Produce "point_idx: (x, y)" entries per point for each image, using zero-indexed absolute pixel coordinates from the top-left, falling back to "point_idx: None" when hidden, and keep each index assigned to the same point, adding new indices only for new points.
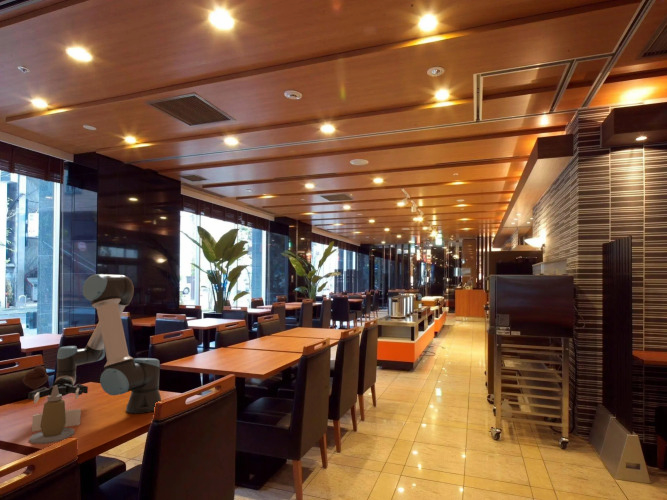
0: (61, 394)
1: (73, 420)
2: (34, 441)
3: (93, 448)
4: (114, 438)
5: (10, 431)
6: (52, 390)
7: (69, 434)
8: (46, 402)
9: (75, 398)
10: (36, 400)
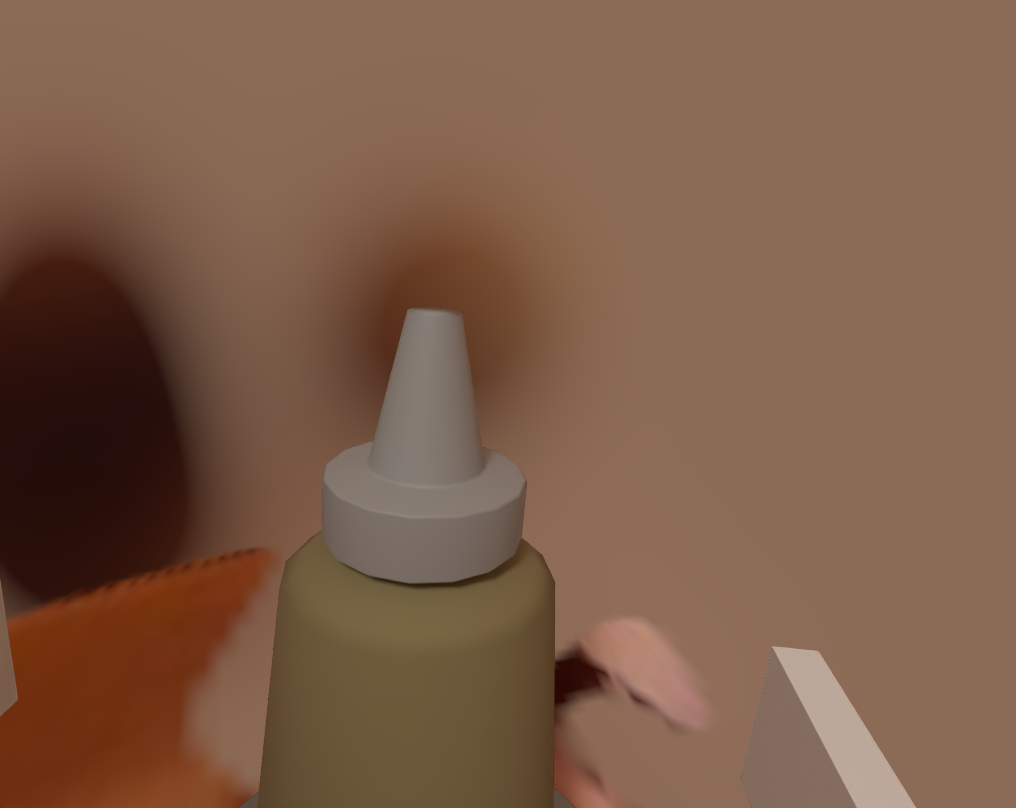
0: (329, 473)
1: None
2: (561, 797)
3: (225, 555)
4: (32, 613)
5: None
6: (470, 380)
7: (255, 806)
8: (526, 554)
9: (14, 695)
10: (760, 759)
